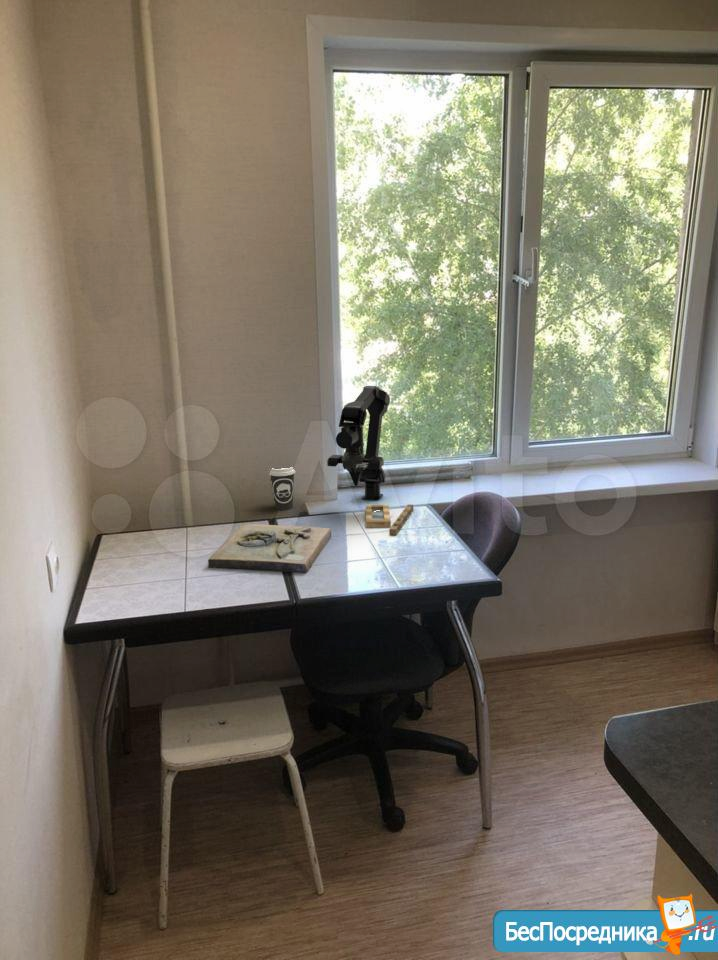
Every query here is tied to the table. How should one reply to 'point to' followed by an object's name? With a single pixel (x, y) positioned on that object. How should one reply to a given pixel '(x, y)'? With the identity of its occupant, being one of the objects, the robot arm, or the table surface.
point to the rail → (401, 520)
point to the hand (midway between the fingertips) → (356, 485)
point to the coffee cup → (283, 487)
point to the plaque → (271, 548)
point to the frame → (378, 516)
